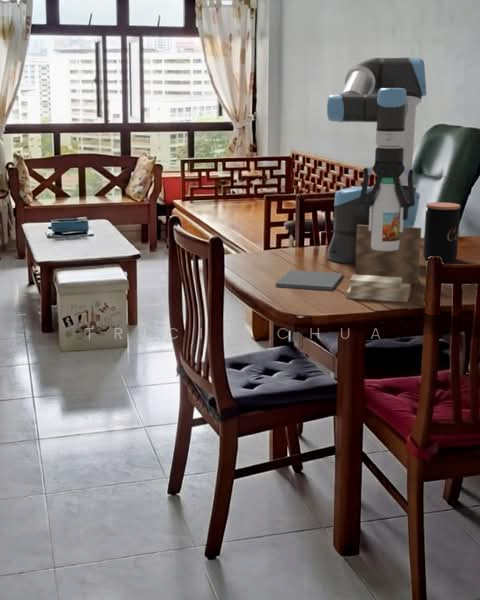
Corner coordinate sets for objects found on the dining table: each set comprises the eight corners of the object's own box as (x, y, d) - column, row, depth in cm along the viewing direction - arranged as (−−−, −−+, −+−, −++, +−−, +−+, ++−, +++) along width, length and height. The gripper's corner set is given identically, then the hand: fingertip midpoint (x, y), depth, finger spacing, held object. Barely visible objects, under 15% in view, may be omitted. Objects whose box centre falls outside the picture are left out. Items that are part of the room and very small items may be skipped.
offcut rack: (342, 297, 225) (344, 238, 221) (357, 276, 249) (359, 223, 245) (410, 302, 220) (414, 242, 216) (419, 280, 244) (422, 226, 240)
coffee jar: (450, 264, 267) (454, 207, 263) (418, 260, 273) (421, 205, 268) (460, 258, 276) (464, 203, 272) (429, 255, 282) (432, 201, 277)
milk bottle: (370, 251, 231) (373, 178, 226) (371, 245, 238) (374, 175, 233) (399, 252, 229) (402, 178, 224) (398, 246, 237) (402, 175, 232)
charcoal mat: (275, 286, 236) (275, 283, 236) (290, 273, 253) (290, 270, 253) (332, 290, 232) (332, 287, 232) (342, 276, 249) (343, 273, 249)
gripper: (349, 147, 226) (346, 231, 232) (427, 149, 220) (422, 234, 226) (353, 144, 233) (350, 226, 239) (429, 146, 227) (424, 230, 233)
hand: (385, 230), depth 232 cm, fingers closed on milk bottle, 8 cm apart
